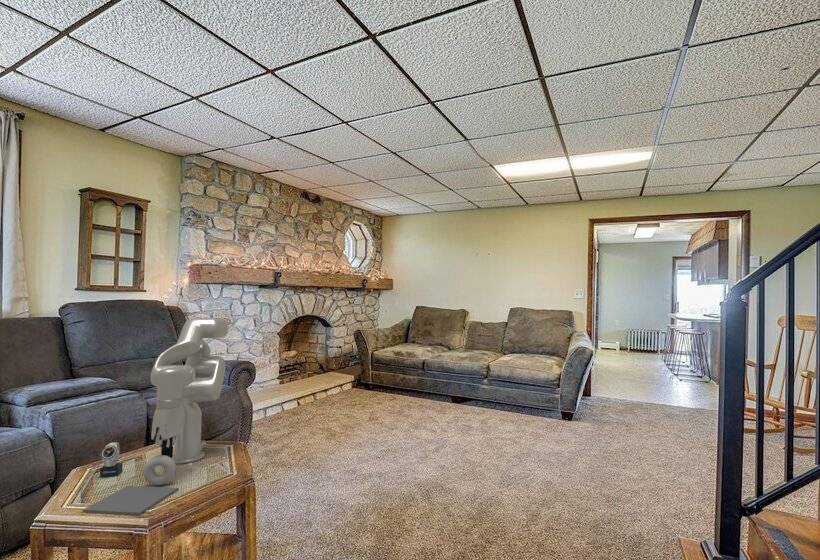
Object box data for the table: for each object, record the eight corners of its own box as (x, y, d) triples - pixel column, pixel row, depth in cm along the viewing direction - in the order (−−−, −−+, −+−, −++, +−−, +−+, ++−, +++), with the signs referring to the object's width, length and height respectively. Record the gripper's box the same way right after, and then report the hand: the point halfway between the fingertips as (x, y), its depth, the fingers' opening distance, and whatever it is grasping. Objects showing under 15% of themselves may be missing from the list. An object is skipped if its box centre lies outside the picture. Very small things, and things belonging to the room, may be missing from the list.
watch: (97, 479, 147) (98, 447, 147) (107, 471, 154) (108, 440, 155) (115, 478, 148) (117, 446, 149) (124, 469, 156) (125, 439, 157)
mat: (127, 488, 140) (128, 485, 140) (178, 490, 138) (178, 487, 138) (82, 512, 123) (82, 509, 123) (139, 515, 121) (139, 512, 121)
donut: (140, 489, 139) (141, 458, 139) (145, 484, 142) (145, 454, 143) (173, 486, 141) (174, 455, 141) (177, 481, 144) (177, 452, 145)
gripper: (173, 399, 155) (171, 451, 153) (143, 408, 140) (140, 465, 138) (192, 400, 154) (190, 451, 152) (164, 409, 139) (162, 466, 137)
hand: (166, 458), depth 145 cm, fingers closed
